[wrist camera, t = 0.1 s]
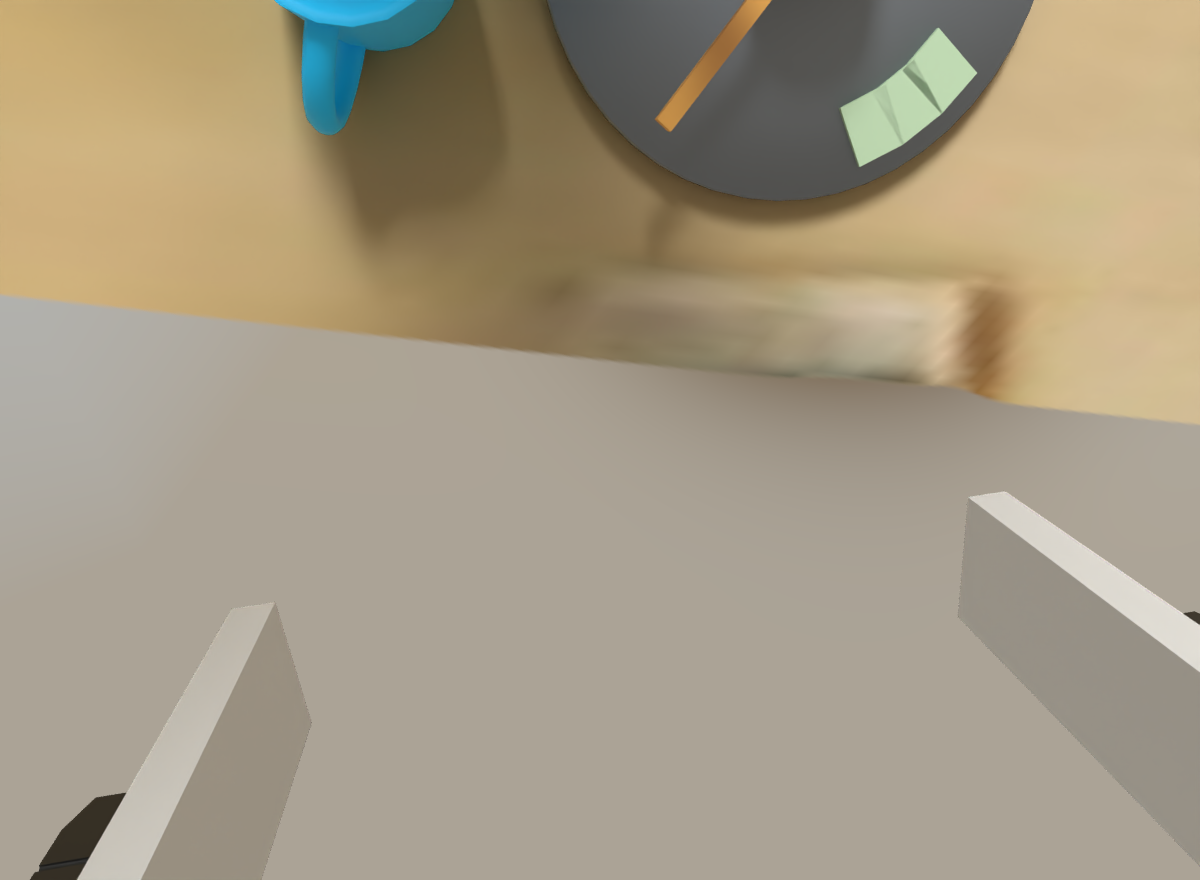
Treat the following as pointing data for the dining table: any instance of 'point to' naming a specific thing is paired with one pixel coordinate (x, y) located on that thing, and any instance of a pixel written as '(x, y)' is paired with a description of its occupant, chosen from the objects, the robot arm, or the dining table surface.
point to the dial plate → (788, 83)
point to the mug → (352, 47)
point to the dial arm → (710, 62)
